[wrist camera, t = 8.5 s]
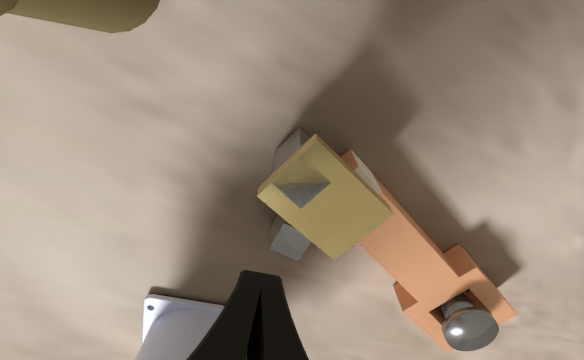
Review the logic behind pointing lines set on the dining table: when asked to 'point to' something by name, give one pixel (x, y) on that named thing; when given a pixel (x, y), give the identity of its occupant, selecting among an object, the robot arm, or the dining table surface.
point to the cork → (85, 12)
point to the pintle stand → (345, 222)
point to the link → (425, 266)
